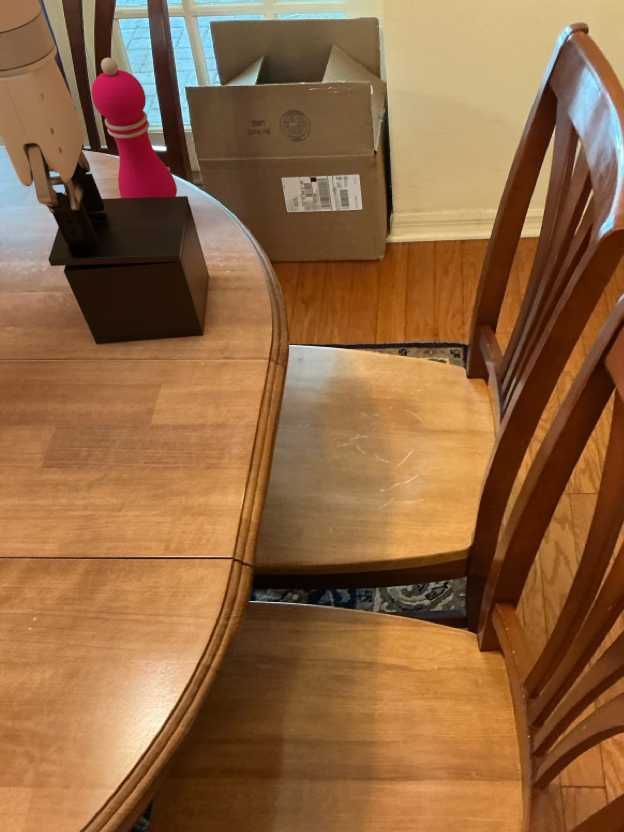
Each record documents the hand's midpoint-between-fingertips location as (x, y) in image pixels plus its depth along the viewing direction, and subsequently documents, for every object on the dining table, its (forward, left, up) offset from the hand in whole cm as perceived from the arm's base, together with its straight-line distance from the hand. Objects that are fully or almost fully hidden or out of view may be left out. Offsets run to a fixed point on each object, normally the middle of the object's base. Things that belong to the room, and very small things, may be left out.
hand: (86, 224), depth 83 cm
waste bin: (+4, 0, -11) cm, 12 cm away
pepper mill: (+3, +19, -12) cm, 22 cm away
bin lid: (+4, 0, -1) cm, 4 cm away
